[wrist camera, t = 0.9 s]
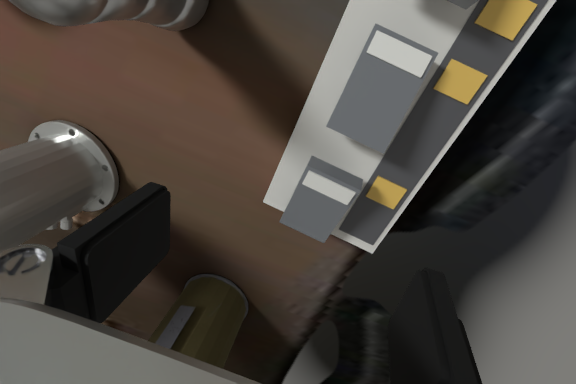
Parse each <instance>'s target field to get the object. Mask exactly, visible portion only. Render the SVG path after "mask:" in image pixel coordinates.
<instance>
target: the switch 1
mask: <svg viewBox="0 0 576 384" xmlns="http://www.w3.org/2000/svg"><path fill="white" fill-rule="evenodd" d="M362 184H363V179H361V178H359V177H357V176H355V175H353V174H351V173H348V172H346V171H344V170H342V169H340V168H338V167H336V166H334V165H331V164H329V163H327V162H325V161H323V160H321V159H319V158H317V157H315V156H311V158H310V160H309V162H308V164H307V166H306V168H305V170H304V172H303V174H302V176H301V178H300V180H299V182H298V184H297V187H296V189H295V191H294V193H293V195H292V197H291V199H290V201H289V203H288V205H287V207H286V209H285V211H284V213H283V215H282V217H281V220H280V223H282V224H284V225H286V226H289V227H291V228H293V229H295V230H297V231H299V232H301V233H303V234H306V235H308V236H310V237H312V238H314V239H316V240H318V241H320V242H323V243H324V242H325V241H326V239H327V238H328V237H329V235H330V234H331V232H332V231H333V230H334V228H335V227H336V225H337V224H338V223H339V221H340V220H341V218H342V217H343V216H344V214H345V213H346V211H347V210H348V209H349V207H350V206H351V204H352V203H353V201H354V200H355V199H356V197H357V196H358V194H359V193H360V192H361V189H362Z"/></svg>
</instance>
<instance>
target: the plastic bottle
mask: <svg viewBox="0 0 576 384" xmlns="http://www.w3.org/2000/svg"><path fill="white" fill-rule="evenodd" d="M9 1H10V2H11V3H12V4H14V5H15V6H16V7H18V8H19V9H20V10H21V11H23V12H25V13H26V14H28V15H30V16H31V17H34V18H37V19H39V20H42V21H44V22H47V23H50V24H53V25H57V26H78V25H84V24H90V23H96V22H102V21H108V20H135V21H140V22H144V23H149V24H152V25H154V26H156V27H159V28H162V29H166V30H170V31H179V30H183V29H186V28H189V27H192V26H194V25H195V24H196V23H198V22H199V21H200V20H201V18H202V17H203V16H204V14H205V12H206V9H207V7H208V3H209V0H9Z"/></svg>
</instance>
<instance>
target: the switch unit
mask: <svg viewBox="0 0 576 384" xmlns="http://www.w3.org/2000/svg"><path fill="white" fill-rule="evenodd" d="M555 2H556V0H478V1H477V2H476V3H474V4H473V5H472V6H470V7H469V8H468V9H464V8H461V7H459V6H457V5H455V4H453V3H451V2H449V1H447V0H350V1H349V3H348V6H347V8H346V10H345V13H344V15H343V17H342V20H341V22H340V24H339V27H338V29H337V31H336V33H335V36H334V38H333V40H332V43H331V45H330V47H329V50H328V52H327V54H326V57H325V59H324V61H323V64H322V66H321V68H320V71H319V73H318V75H317V78H316V80H315V82H314V85H313V87H312V89H311V91H310V94H309V96H308V98H307V101H306V103H305V105H304V108H303V110H302V112H301V115H300V117H299V119H298V122H297V124H296V126H295V129H294V131H293V133H292V136H291V138H290V140H289V142H288V145H287V147H286V149H285V152H284V154H283V156H282V159H281V161H280V163H279V166H278V168H277V170H276V173H275V175H274V177H273V180H272V182H271V184H270V187H269V189H268V191H267V194H266V196H265V198H264V200H263V202H264V203H266V204H268V205H270V206H273V207H275V208H277V209H279V210H281V211H283V212H284V211H285V209H286V207H287V205H288V203H289V201H290V199H291V197H292V195H293V193H294V191H295V189H296V187H297V184H298V182H299V180H300V178H301V176H302V174H303V172H304V170H305V168H306V166H307V164H308V162H309V160H310V158H311V156H315V157H317V158H319V159H321V160H323V161H325V162H327V163H329V164H331V165H334V166H336V167H338V168H340V169H342V170H344V171H346V172H348V173H351V174H353V175H355V176H357V177H359V178H361V179H363V184H362V189H361V192H360V193H359V194H358V196H357V197H356V199H355V200H354V201H353V203H352V204H351V206H350V207H349V209H348V210H347V211H346V213H345V214H344V216H343V217H342V218H341V220H340V221H339V223H338V224H337V225H336V227H335V228H334V230H333V231H332V232H331V234H332V235H334V236H336V237H338V238H340V239H342V240H345V241H347V242H349V243H351V244H353V245H355V246H357V247H359V248H362V249H364V250H366V251H368V252H370V253H373V252H374V251H375V249H376V248H377V247H378V245H379V244H380V242H381V241H382V240H383V238H384V237H385V236H386V234H387V233H388V232H389V230H390V229H391V227H392V226H393V225H394V223H395V222H396V221H397V219H398V218H399V216H400V215H401V214H402V212H403V211H404V209H405V208H406V207H407V205H408V204H409V203H410V201H411V200H412V198H413V197H414V196H415V194H416V193H417V192H418V190H419V189H420V187H421V186H422V185H423V183H424V182H425V181H426V179H427V178H428V176H429V175H430V174H431V172H432V171H433V170H434V168H435V167H436V165H437V164H438V163H439V161H440V160H441V159H442V157H443V156H444V154H445V153H446V152H447V150H448V149H449V148H450V146H451V145H452V143H453V142H454V141H455V139H456V138H457V137H458V135H459V134H460V132H461V131H462V130H463V128H464V127H465V126H466V124H467V123H468V121H469V120H470V119H471V117H472V116H473V114H474V113H475V112H476V110H477V109H478V108H479V106H480V105H481V103H482V102H483V101H484V99H485V98H486V97H487V95H488V94H489V92H490V91H491V90H492V88H493V87H494V86H495V84H496V83H497V81H498V80H499V79H500V77H501V76H502V75H503V73H504V72H505V70H506V69H507V68H508V66H509V65H510V64H511V62H512V61H513V59H514V58H515V57H516V55H517V54H518V53H519V51H520V50H521V48H522V47H523V46H524V44H525V43H526V42H527V40H528V39H529V37H530V36H531V35H532V33H533V32H534V31H535V29H536V28H537V26H538V25H539V24H540V22H541V21H542V19H543V18H544V17H545V15H546V14H547V13H548V11H549V10H550V8H551V7H552V6H553V4H554V3H555ZM375 24H378V25H380V26H383V27H385V28H387V29H389V30H391V31H393V32H395V33H397V34H400V35H402V36H404V37H406V38H408V39H410V40H412V41H414V42H416V43H419V44H421V45H423V46H425V47H427V48H429V49H431V50H433V51H436V52H438V55H437V57H436V59H435V61H434V62H433V64H432V66H431V68H430V70H429V72H428V73H427V75H426V77H425V79H424V81H423V83H422V84H421V86H420V88H419V90H418V92H417V94H416V96H415V97H414V99H413V101H412V103H411V105H410V107H409V108H408V110H407V112H406V114H405V116H404V118H403V119H402V121H401V123H400V125H399V127H398V129H397V131H396V132H395V134H394V136H393V138H392V140H391V142H390V143H389V145H388V147H387V149H386V151H385V153H384V154H383V153H381V152H379V151H377V150H375V149H372V148H370V147H368V146H366V145H364V144H362V143H360V142H358V141H355V140H353V139H351V138H349V137H347V136H345V135H343V134H341V133H339V132H336V131H334V130H332V129H330V128H328V127H326V125H327V123H328V121H329V119H330V117H331V115H332V112H333V110H334V108H335V106H336V104H337V102H338V100H339V98H340V96H341V94H342V92H343V89H344V87H345V85H346V83H347V81H348V79H349V77H350V75H351V73H352V71H353V69H354V66H355V64H356V62H357V60H358V58H359V56H360V54H361V52H362V50H363V48H364V46H365V43H366V41H367V39H368V37H369V35H370V33H371V31H372V29H373V27H374V25H375Z"/></svg>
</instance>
